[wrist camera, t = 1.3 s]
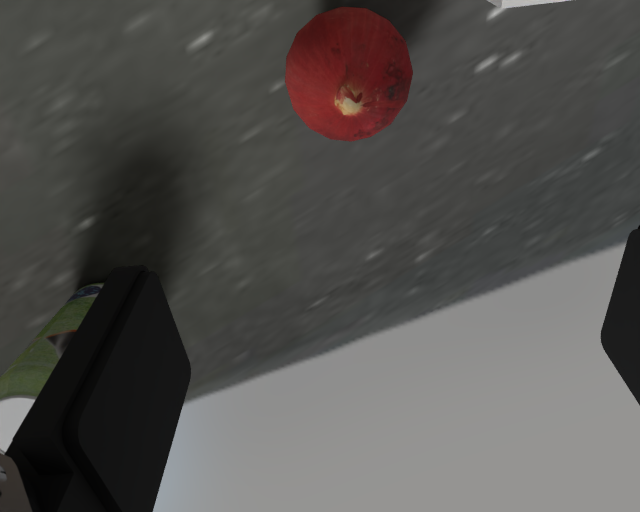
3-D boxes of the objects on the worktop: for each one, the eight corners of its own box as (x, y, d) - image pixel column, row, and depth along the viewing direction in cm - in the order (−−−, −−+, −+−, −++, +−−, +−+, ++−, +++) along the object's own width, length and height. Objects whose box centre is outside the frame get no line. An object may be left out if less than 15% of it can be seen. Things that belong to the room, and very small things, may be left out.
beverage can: (95, 343, 38) (17, 494, 28) (47, 268, 34) (-64, 414, 24) (172, 332, 37) (120, 483, 28) (133, 254, 33) (55, 398, 24)
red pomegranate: (410, 2, 25) (443, 36, 18) (390, 115, 28) (411, 179, 21) (293, -11, 24) (283, 19, 18) (286, 105, 28) (276, 167, 21)
